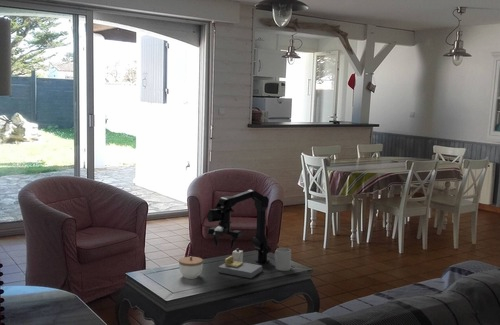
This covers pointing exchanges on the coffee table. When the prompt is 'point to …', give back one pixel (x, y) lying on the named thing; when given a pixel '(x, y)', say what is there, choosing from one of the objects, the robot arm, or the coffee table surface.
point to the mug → (283, 259)
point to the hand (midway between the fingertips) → (224, 247)
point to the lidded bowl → (190, 267)
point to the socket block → (241, 270)
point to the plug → (237, 255)
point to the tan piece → (232, 262)
